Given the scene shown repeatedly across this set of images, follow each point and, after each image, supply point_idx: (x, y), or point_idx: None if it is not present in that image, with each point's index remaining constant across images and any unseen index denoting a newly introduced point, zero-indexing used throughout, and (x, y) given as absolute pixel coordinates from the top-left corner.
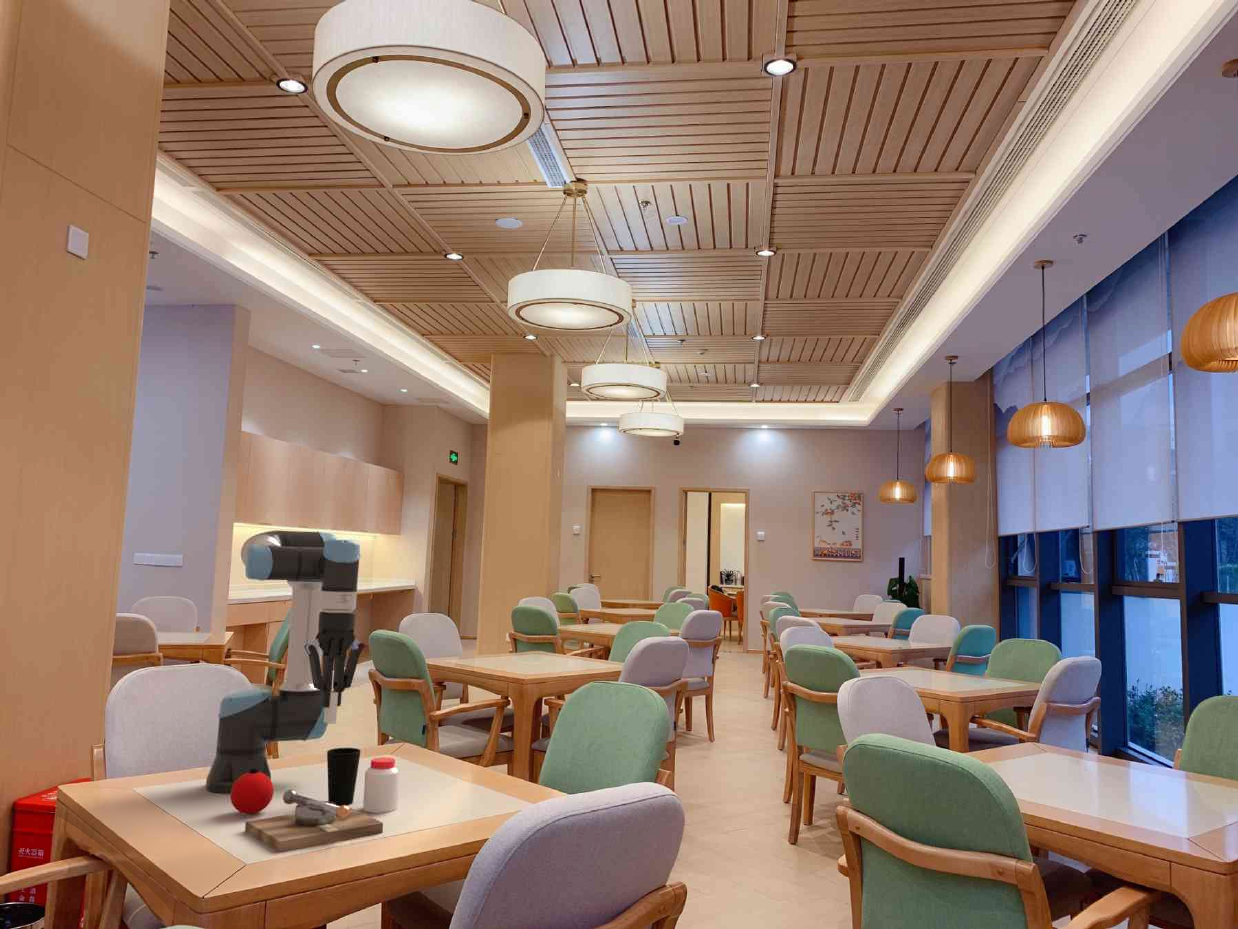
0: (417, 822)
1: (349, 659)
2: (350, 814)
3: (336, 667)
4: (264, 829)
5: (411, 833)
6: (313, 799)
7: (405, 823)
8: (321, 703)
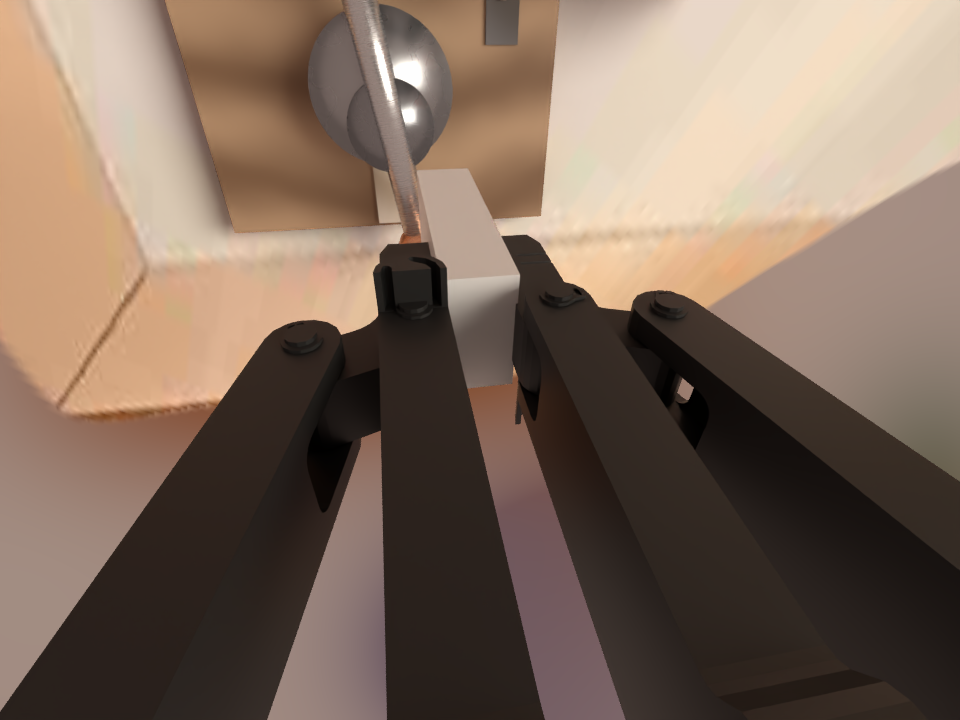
0: (657, 166)
1: (944, 634)
2: (516, 62)
3: (603, 564)
4: (199, 69)
5: (582, 249)
6: (378, 72)
7: (629, 156)
8: (380, 262)
